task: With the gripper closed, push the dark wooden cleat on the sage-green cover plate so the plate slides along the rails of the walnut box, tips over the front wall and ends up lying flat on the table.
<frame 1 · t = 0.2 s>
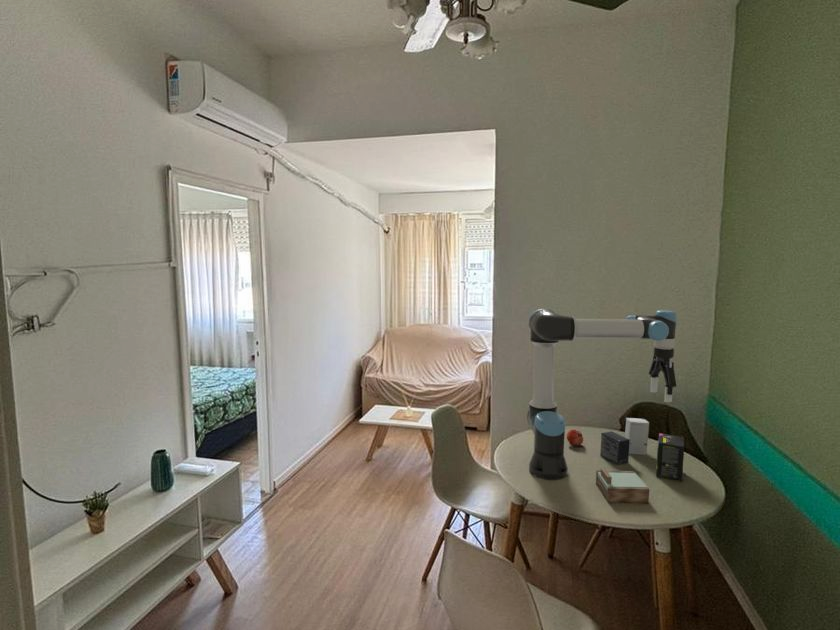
hand: (660, 397, 201), 28 cm above the table, tool pointing down, fingers open, 13 cm apart
small box: (614, 459, 205), on the table
tampon box: (668, 474, 192), on the table
cover plate: (621, 483, 176), point 4 cm above the table, touching box
skincare box: (635, 452, 213), on the table
pomegranate: (574, 445, 221), on the table
box: (621, 493, 176), on the table
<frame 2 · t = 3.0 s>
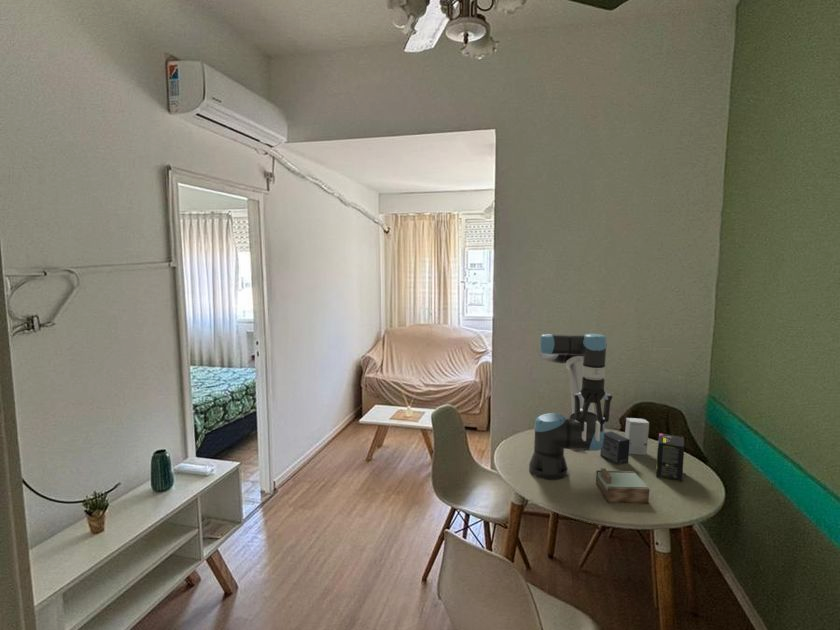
hand: (590, 439, 174), 21 cm above the table, tool pointing down, fingers open, 4 cm apart
nothing on the table moved.
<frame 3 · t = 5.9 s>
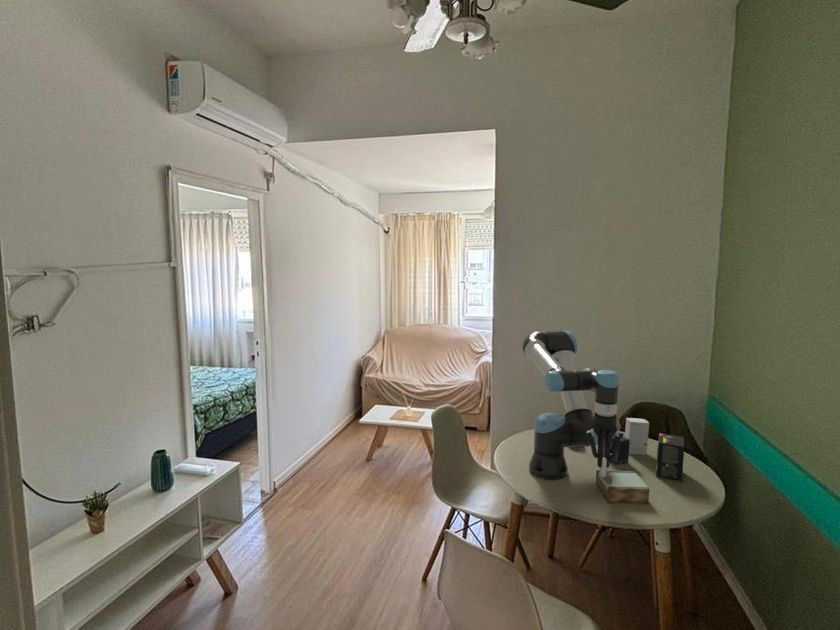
hand: (602, 475, 175), 7 cm above the table, tool pointing down, fingers closed
cover plate: (622, 483, 175), point 4 cm above the table, touching box, gripper
everything else where it was.
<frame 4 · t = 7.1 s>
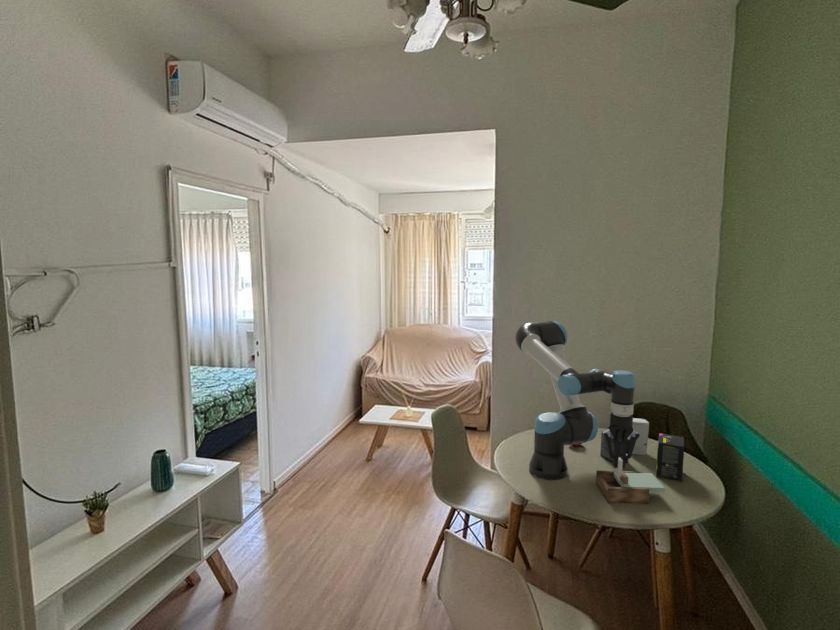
hand: (618, 475, 175), 7 cm above the table, tool pointing down, fingers closed
cover plate: (638, 483, 175), point 4 cm above the table, touching box, gripper
everything else where it was.
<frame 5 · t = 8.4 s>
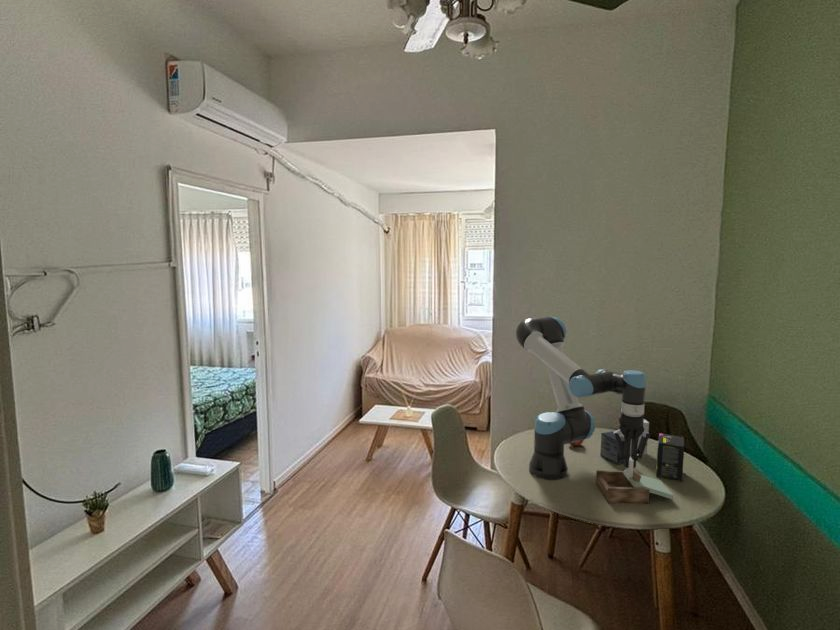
hand: (629, 475, 175), 7 cm above the table, tool pointing down, fingers closed
cover plate: (647, 485, 175), point 3 cm above the table, tilted 17°
everything else where it was.
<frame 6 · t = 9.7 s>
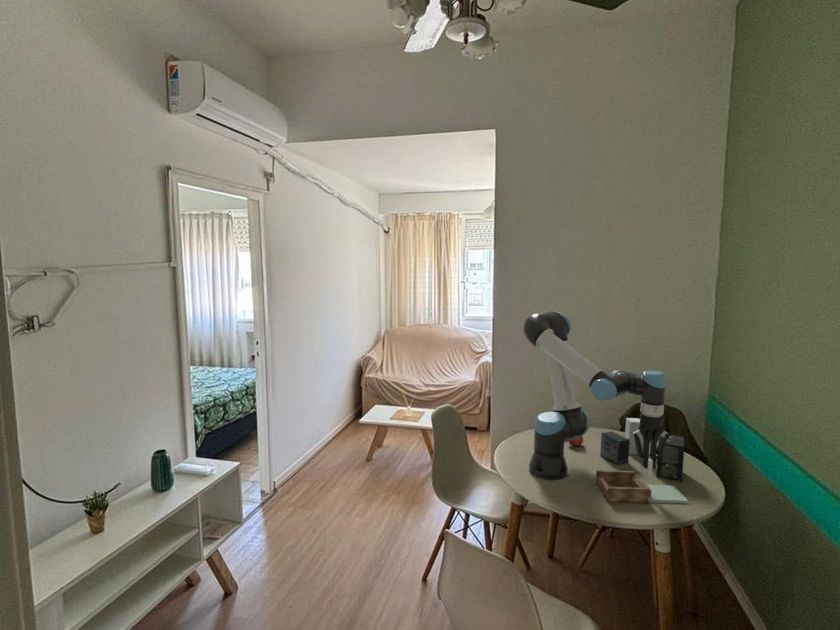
hand: (648, 476, 175), 7 cm above the table, tool pointing down, fingers closed
cover plate: (660, 496, 175), on the table
everything else where it was.
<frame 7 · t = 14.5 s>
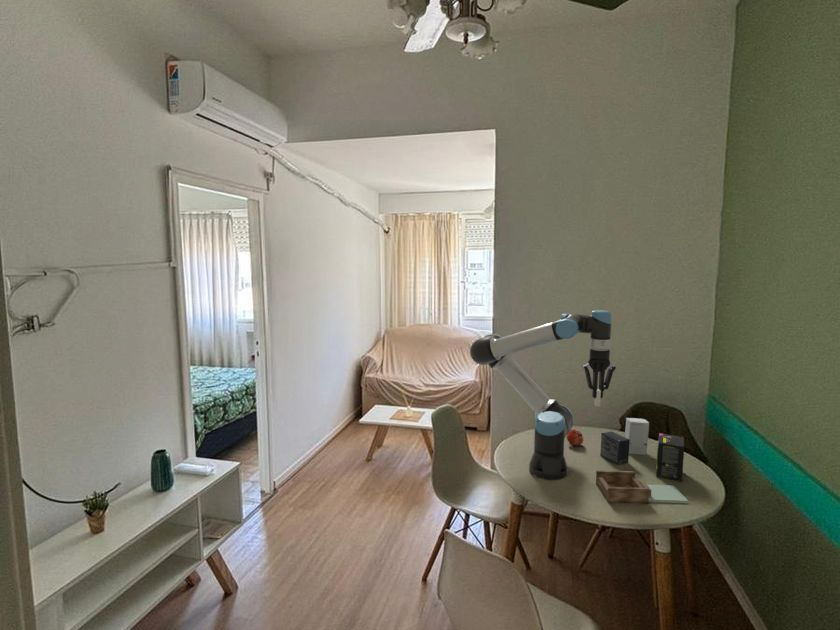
hand: (597, 405, 195), 26 cm above the table, tool pointing down, fingers closed
nothing on the table moved.
at the end: cover plate inside the target area on the table beside the box (5.2 cm from its centre), on the table; cover plate touching table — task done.
